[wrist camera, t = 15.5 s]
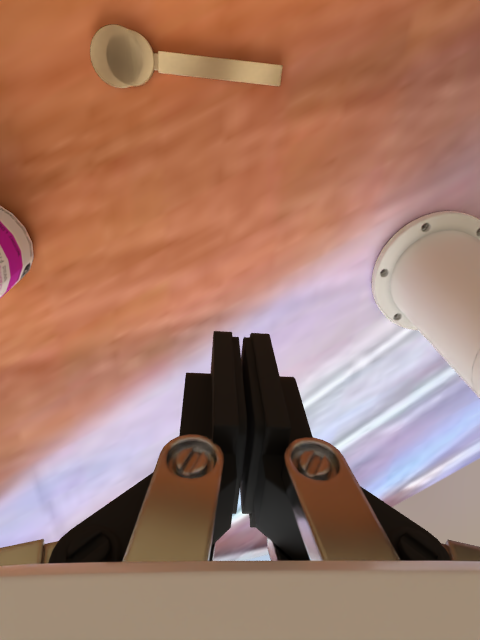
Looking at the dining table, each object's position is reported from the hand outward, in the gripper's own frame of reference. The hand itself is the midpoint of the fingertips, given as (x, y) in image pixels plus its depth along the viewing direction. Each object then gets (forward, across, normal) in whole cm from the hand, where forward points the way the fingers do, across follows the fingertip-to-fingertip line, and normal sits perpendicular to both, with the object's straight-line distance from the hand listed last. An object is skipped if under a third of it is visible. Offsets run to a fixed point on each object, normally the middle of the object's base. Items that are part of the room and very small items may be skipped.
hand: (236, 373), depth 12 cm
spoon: (+27, +4, -10) cm, 29 cm away
